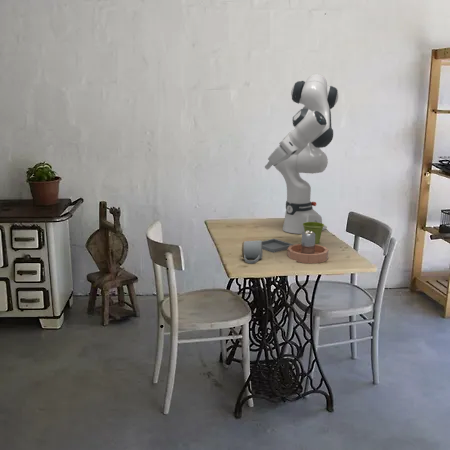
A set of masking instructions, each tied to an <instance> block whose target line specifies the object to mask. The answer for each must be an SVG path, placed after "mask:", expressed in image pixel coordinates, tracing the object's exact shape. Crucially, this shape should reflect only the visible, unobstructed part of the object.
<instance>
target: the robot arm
mask: <svg viewBox="0 0 450 450" xmlns="http://www.w3.org/2000/svg"><path fill="white" fill-rule="evenodd" d="M290 93H291V94H290V95H291V100H292V102H293V103H296V104H298V105H299V104H301V105H303V107H302V108H301V109H299V110H298V111H297V112H296V113H295V115H294V116H293V117H292V126H293V127H294V128H293V129H292V130H291V131H290V132H289V133H288V134H287V135H286V136H285V137H283V138H282V140H281V141H280V142H279V145H278V146H277V147H276V148H274V150H273V152H271V154H270V155H269V157H268V158H267V160H268V162H267V164H265V166H264V169H266V170H267V171H268V170H269V169H271V167H274V168H275V169H276V170H277V171H278V172H279V173H280V174H281V175H282V177H283V178H284V181H285V184H286V202H285V213H284V220H283V221H284V222H283V224H282V231H283V232H285V233H290V234H297V235H298V234H299V235H302V233H303V232H305V231H304V226H303V223H305V222H318V223H322V224H323V219H322V216H321V214H319V213H318V212H317V211H315V210H314V208H313V207H316V206H317V202H316V201H311V195H312V194H311V192H312V189H311V187H312V186H311V185H310V183H309V182H308V181H306V180H304V179H303V178H302V177H301V176H300V173H302V174H311V175H312V174H318V173H323V172H324V171H325V170H326V168H327V167H328V164H329V163H328V162H329V161H328V160H329V159H328V156H327V154H326V153H325V152H324V151H323V150H322V149H323V148H326V147H327V146H328V145H329V144H330V143H331V142H332V140H333V138H334V129H333V128H332V112H331V110H332V109H333V108H334V107H335V106H336V104H337V102H338V101H339V91H338V88H336V87H335V86H333V85H330V86H329V85H328V82H327V80H326V78H325V76H323V75H322V74H320V73H313V74H312V75H310V76H309V77H308V78H307V79H306V81H305V80H300V81H299V80H298V81H296V82H295V83H294V84H293V86H292V88H291V92H290ZM327 229H328V226H326V225H325V224H324V227H323V229H322V231H324V230H327Z"/></svg>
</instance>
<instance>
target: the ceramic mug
mask: <svg viewBox="0 0 450 450" xmlns="http://www.w3.org/2000/svg"><path fill="white" fill-rule="evenodd" d="M262 241H263V240H261V239H260V240H246V241H243V242H242V243H241V257H242V258H243V259H244V262H245V263H247V264H252V265H253V264H256V263H258V262H259V261H260V260H262V259H263V251H264V250H263V249H262Z"/></svg>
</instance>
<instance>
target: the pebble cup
mask: <svg viewBox="0 0 450 450" xmlns="http://www.w3.org/2000/svg"><path fill="white" fill-rule="evenodd" d="M300 244H301V253H303V254H315V233H314V232H312V231H311V232H310V231H309V230H307V231H306V232H303V233H302V234H301V243H300Z"/></svg>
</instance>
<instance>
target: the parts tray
mask: <svg viewBox="0 0 450 450" xmlns="http://www.w3.org/2000/svg"><path fill="white" fill-rule="evenodd" d="M261 241H262V250H263V251H264V250H265V251H267V252H270V253H277V252H282V251H285V250H286V251H287V250H288V247H289V246H291V245H295V243H290V242H286V241H283V240H280V239H277V238H271V239H267V240H261Z"/></svg>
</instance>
